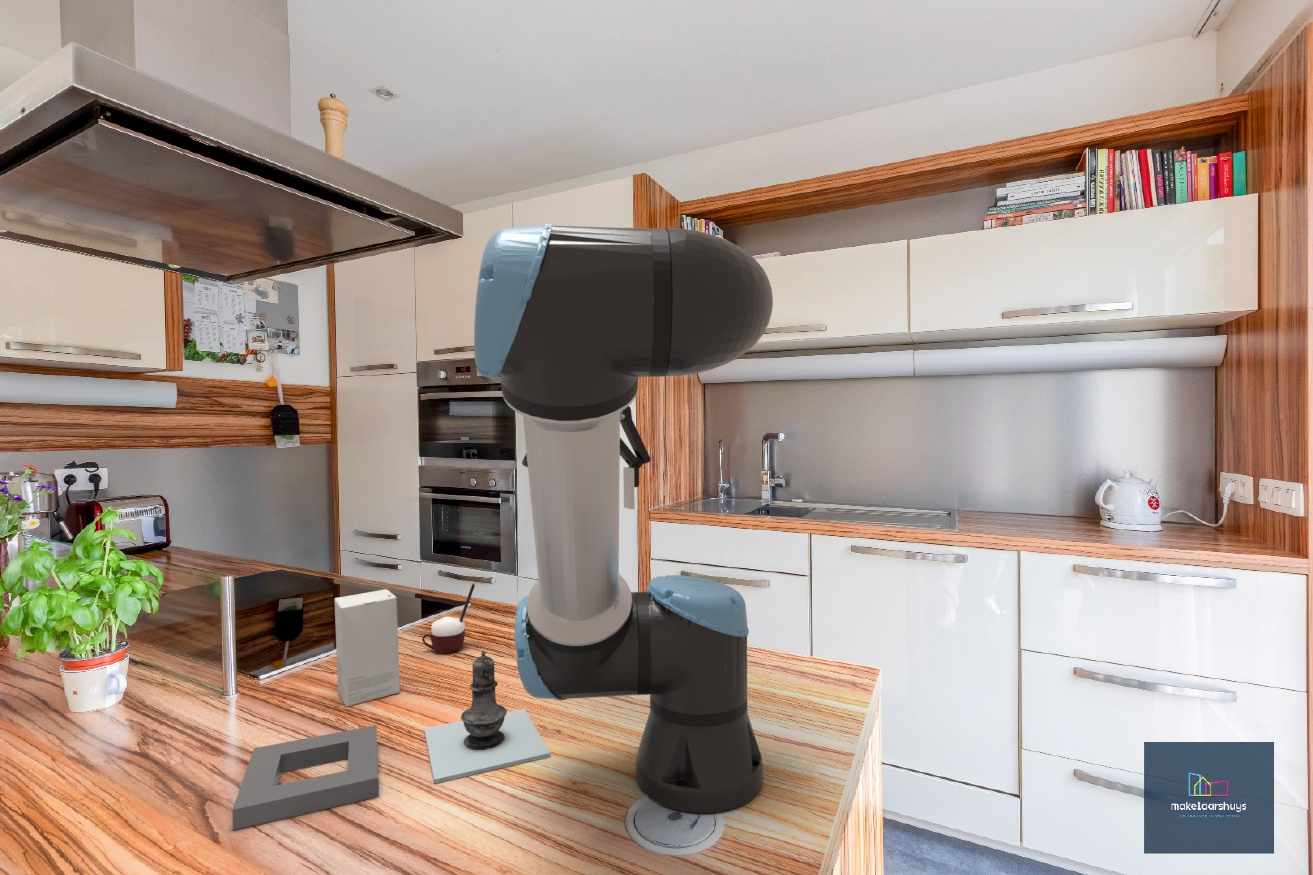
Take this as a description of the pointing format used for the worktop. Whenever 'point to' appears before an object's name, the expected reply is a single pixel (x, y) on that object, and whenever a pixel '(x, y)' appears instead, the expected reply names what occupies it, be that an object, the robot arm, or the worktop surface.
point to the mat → (460, 761)
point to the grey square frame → (276, 802)
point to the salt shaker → (483, 708)
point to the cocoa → (448, 631)
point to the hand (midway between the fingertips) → (588, 511)
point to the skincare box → (367, 646)
